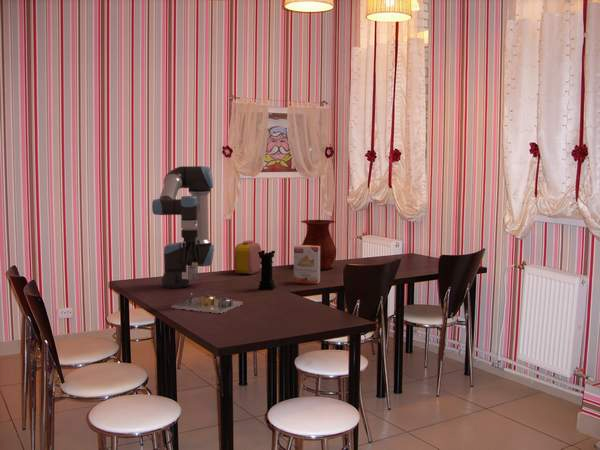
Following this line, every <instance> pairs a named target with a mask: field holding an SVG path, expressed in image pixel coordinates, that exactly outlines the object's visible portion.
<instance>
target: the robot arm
mask: <svg viewBox="0 0 600 450" xmlns="http://www.w3.org/2000/svg"><path fill="white" fill-rule="evenodd" d="M213 181H214V180H213V173H212V170H211V168H210V167H209V166H199V165H198V166H197V165H195V166H193V165H192V166H189V165H188V166H184V165H183V166H178V167H175V168H173V169H172V170H170V171H169V172H167V174H165V177H164V178H163V187H162V190H161V193H160V196H159V198H157V199H153V200H152V204H151V208H152V209H151V211H152V214H153V215H155V216H181V217H180V229H181V231H180V233H181V234H180V235H181V238H182V239H183V241H182V242H173V243H168V244H166V245H165V246H164V248H163V264H164V265H163V269H164V272H163V276H162V277H161V283H160V284H161V287H162V288H167V289H181V288H187V287H189V286H190V285H191V284H190V283H191V282H190V279H188V267H191V266H192V267H197V272H198V273H199V269H198V268H199V267H202V268H203V267H211V265H212V264H213V258H214V251H215V245H214V244H212V241H211V240H210V239H209V204H208V203H209V202H208V201H209V198H208V197H209V196H208V195H209V194H210V193H211V189H213V188H214V182H213ZM180 189H188V192H189V194H190V195H183V196H181V197H180V198H179V199H178V198H177V195H178V192H179V190H180Z"/></svg>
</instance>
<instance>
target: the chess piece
mask: <svg viewBox="0 0 600 450" xmlns="http://www.w3.org/2000/svg"><path fill="white" fill-rule="evenodd" d="M275 253H276V250H270V251H269V252H266V250H264V249H263V250H262V249H261V252H258V254H259V258H261V262H260V264H261V267H260V270H261V271H260V273H261V275H260V276H261V277H260V278H261V279H260V281H259V282H258V287H257V291H274V290H275V289H276V288H277V286H276V283H275V280H274V279H273V264H274V261H273V258H275Z"/></svg>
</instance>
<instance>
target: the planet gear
mask: <svg viewBox="0 0 600 450" xmlns="http://www.w3.org/2000/svg"><path fill="white" fill-rule="evenodd" d="M199 277H200V276H199V271H198V272H197V267H192V266H188V279H189V280H197V279H199Z"/></svg>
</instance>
